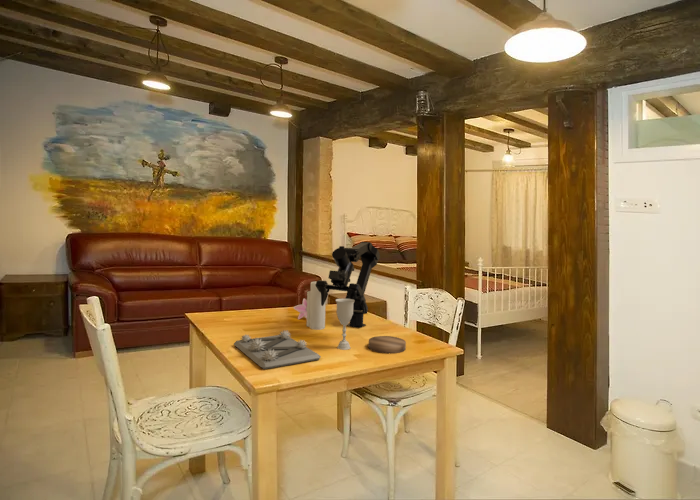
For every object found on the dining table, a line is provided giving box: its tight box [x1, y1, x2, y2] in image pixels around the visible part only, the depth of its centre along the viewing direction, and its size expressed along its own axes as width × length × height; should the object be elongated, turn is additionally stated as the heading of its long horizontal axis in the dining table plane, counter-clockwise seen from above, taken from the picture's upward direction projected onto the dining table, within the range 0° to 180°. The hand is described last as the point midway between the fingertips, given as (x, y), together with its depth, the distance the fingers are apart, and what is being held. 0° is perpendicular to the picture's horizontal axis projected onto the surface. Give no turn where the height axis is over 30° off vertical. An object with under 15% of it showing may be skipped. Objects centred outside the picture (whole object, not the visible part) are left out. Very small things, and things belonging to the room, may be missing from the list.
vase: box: [306, 280, 327, 331], centre depth 194 cm, size 11×7×20 cm, turn 20°
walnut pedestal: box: [368, 335, 407, 354], centre depth 167 cm, size 14×14×2 cm
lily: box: [293, 298, 307, 320], centre depth 209 cm, size 12×12×10 cm
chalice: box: [335, 298, 355, 351], centre depth 165 cm, size 7×7×18 cm
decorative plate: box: [233, 329, 322, 370], centre depth 158 cm, size 30×22×7 cm
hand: (332, 306), depth 173 cm, fingers open, 9 cm apart
